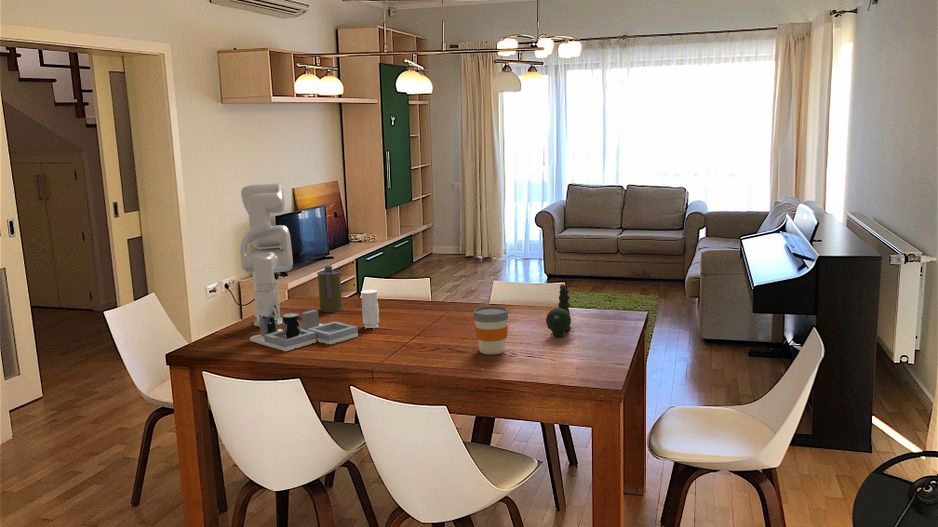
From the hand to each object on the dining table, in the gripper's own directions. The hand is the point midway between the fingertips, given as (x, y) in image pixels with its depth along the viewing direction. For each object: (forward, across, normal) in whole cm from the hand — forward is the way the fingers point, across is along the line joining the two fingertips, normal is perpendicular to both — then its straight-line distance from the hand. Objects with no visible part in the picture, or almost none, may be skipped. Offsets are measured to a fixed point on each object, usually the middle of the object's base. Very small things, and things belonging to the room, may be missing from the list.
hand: (269, 331), depth 305 cm
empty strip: (+3, +16, +15) cm, 22 cm away
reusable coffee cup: (+3, +83, +38) cm, 92 cm away
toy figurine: (+3, +91, +71) cm, 115 cm away
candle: (+3, +21, +35) cm, 41 cm away
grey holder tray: (+3, +9, 0) cm, 9 cm away
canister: (+3, -17, +44) cm, 47 cm away
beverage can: (+3, +16, 0) cm, 16 cm away
